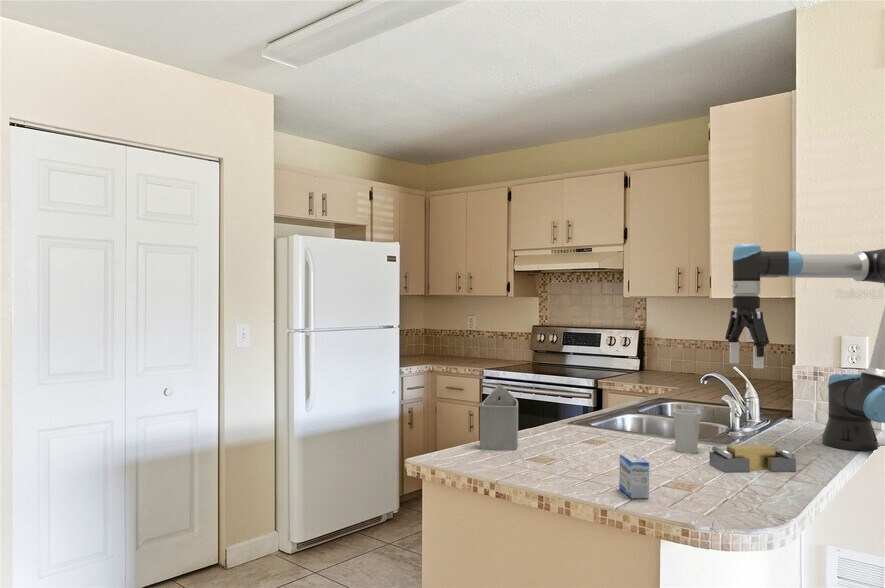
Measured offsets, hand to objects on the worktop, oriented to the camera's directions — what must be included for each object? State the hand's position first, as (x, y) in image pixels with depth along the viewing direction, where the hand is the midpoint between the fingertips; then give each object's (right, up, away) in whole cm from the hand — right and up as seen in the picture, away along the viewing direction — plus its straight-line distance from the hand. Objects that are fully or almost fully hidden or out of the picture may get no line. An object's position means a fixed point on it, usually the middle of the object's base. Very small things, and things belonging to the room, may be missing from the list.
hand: (745, 365), depth 191 cm
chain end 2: (+1, -27, -15) cm, 31 cm away
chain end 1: (-12, -26, -16) cm, 33 cm away
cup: (-16, -27, +4) cm, 32 cm away
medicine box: (-46, -26, -40) cm, 66 cm away
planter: (-72, -27, +6) cm, 77 cm away
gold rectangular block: (-6, -27, -15) cm, 32 cm away
